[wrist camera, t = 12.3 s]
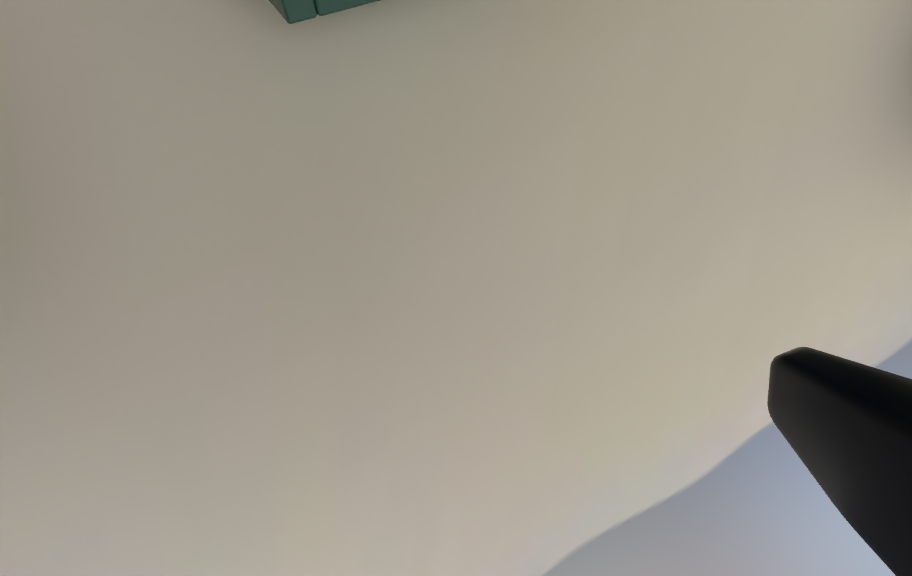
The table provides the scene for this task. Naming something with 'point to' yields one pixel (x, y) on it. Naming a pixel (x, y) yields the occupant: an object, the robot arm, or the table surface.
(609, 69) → the table surface
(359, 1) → the tray
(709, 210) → the table surface
